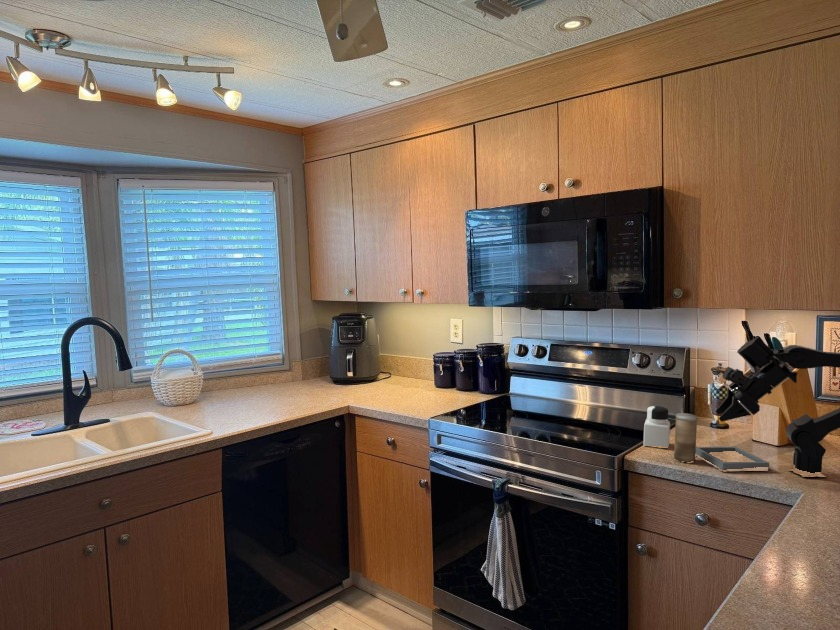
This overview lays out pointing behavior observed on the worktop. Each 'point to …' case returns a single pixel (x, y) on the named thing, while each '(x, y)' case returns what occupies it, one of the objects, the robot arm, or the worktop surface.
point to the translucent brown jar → (685, 437)
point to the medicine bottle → (657, 427)
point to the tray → (722, 465)
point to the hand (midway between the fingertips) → (718, 416)
